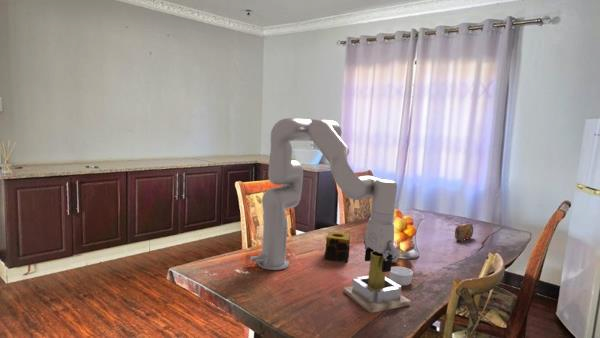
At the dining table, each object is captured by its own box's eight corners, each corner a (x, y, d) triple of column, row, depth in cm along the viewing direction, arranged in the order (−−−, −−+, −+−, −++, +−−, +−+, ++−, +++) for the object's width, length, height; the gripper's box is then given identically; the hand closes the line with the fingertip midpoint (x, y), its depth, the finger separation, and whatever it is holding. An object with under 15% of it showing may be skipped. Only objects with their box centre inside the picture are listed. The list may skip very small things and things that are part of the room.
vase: (373, 299, 130) (377, 257, 128) (362, 291, 135) (365, 251, 133) (388, 296, 132) (391, 255, 130) (376, 288, 138) (380, 249, 136)
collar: (371, 305, 125) (372, 293, 125) (350, 289, 136) (351, 278, 136) (402, 299, 131) (403, 287, 130) (379, 284, 142) (380, 273, 141)
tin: (458, 242, 205) (460, 226, 204) (452, 240, 207) (454, 225, 206) (472, 238, 214) (474, 223, 213) (467, 236, 216) (469, 221, 215)
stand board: (370, 312, 123) (370, 308, 123) (343, 291, 137) (343, 287, 137) (409, 305, 130) (410, 300, 130) (380, 285, 144) (380, 281, 144)
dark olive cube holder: (347, 262, 166) (349, 240, 165) (324, 259, 168) (325, 237, 167) (349, 255, 176) (351, 233, 175) (327, 252, 178) (328, 230, 177)
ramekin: (408, 288, 143) (409, 277, 143) (384, 282, 148) (385, 271, 147) (414, 280, 151) (416, 270, 150) (392, 274, 155) (393, 264, 155)
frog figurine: (386, 258, 174) (388, 242, 173) (401, 262, 170) (403, 246, 169) (380, 261, 170) (381, 245, 169) (395, 265, 165) (396, 250, 164)
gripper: (358, 210, 136) (353, 257, 138) (389, 224, 121) (384, 277, 123) (375, 209, 139) (371, 256, 142) (408, 223, 124) (402, 274, 126)
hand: (377, 265), depth 132 cm, fingers open, 9 cm apart
